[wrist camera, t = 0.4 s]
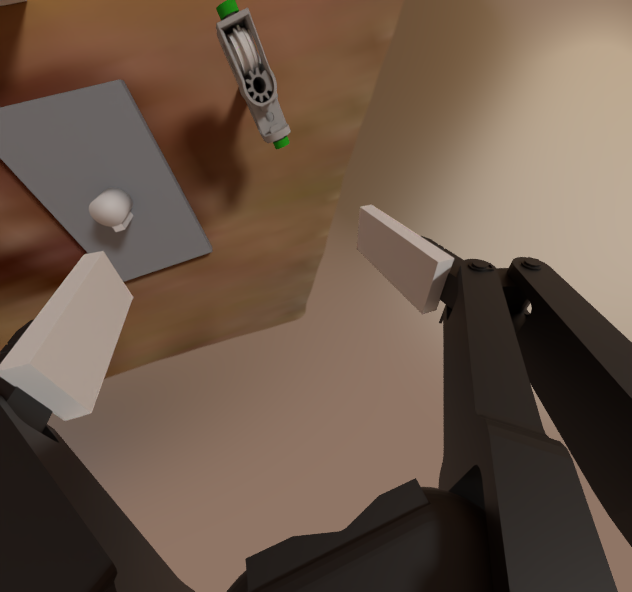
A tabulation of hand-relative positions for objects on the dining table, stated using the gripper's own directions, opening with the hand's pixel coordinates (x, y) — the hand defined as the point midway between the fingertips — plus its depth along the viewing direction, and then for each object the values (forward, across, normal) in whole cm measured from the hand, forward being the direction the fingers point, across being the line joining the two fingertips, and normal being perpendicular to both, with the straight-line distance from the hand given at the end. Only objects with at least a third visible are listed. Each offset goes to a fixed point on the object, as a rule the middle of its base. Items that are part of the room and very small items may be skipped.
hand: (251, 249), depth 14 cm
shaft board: (+26, -13, -3) cm, 29 cm away
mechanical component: (+26, +4, +7) cm, 27 cm away
